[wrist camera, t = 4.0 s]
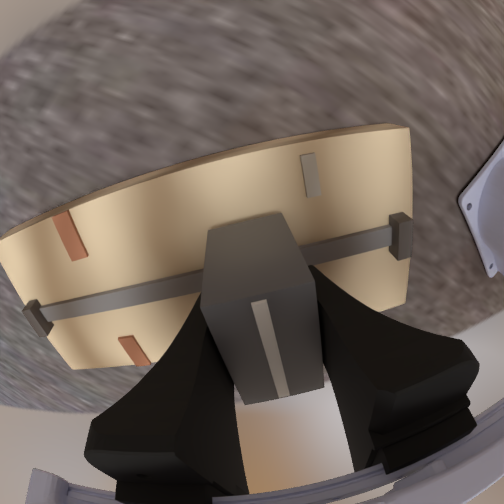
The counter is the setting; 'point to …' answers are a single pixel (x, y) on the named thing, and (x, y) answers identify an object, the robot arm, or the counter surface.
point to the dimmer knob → (262, 309)
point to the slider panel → (195, 237)
